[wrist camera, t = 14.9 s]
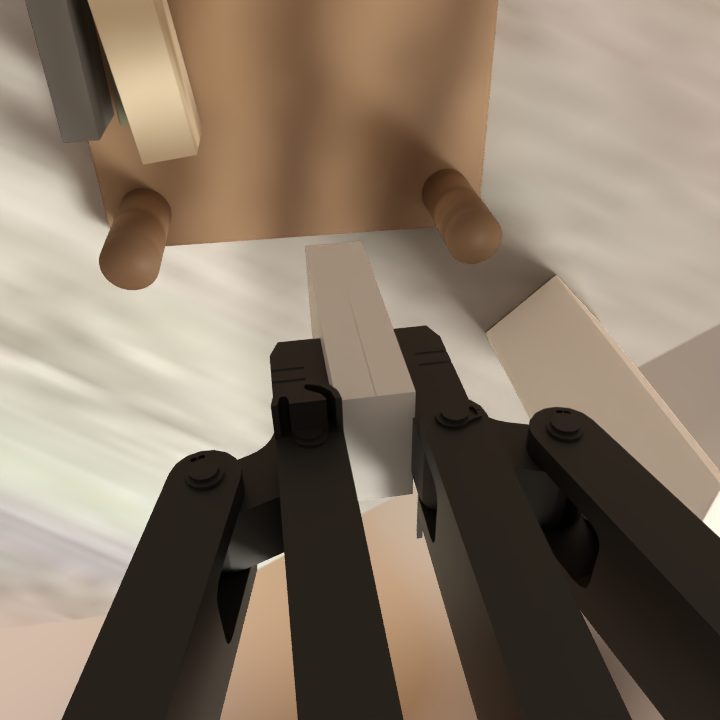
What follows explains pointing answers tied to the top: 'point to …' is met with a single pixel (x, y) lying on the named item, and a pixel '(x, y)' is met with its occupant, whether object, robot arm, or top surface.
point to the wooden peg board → (289, 124)
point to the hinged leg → (149, 76)
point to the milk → (601, 391)
